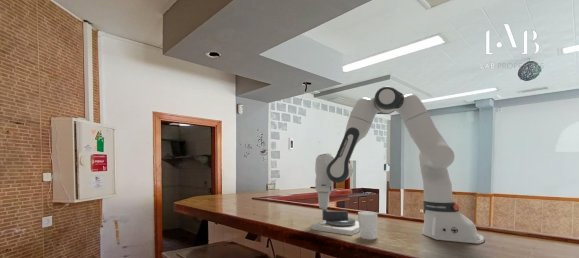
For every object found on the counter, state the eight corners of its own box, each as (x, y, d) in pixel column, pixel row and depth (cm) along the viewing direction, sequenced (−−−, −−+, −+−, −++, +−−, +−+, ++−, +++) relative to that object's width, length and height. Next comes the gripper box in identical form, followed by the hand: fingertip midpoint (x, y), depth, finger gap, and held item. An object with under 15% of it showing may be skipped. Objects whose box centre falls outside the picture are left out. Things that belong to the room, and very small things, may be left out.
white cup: (379, 236, 119) (378, 212, 120) (377, 240, 112) (376, 215, 113) (360, 234, 122) (359, 210, 123) (357, 238, 115) (356, 213, 116)
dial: (351, 219, 142) (350, 208, 142) (359, 226, 128) (358, 213, 128) (320, 220, 141) (320, 209, 142) (325, 226, 127) (324, 214, 128)
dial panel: (368, 226, 136) (368, 222, 137) (351, 235, 120) (351, 230, 121) (331, 221, 148) (331, 217, 148) (311, 229, 132) (311, 224, 132)
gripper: (319, 184, 149) (319, 211, 148) (316, 188, 129) (316, 219, 128) (331, 184, 148) (332, 211, 147) (329, 188, 128) (330, 219, 127)
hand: (324, 215), depth 137 cm, fingers closed
